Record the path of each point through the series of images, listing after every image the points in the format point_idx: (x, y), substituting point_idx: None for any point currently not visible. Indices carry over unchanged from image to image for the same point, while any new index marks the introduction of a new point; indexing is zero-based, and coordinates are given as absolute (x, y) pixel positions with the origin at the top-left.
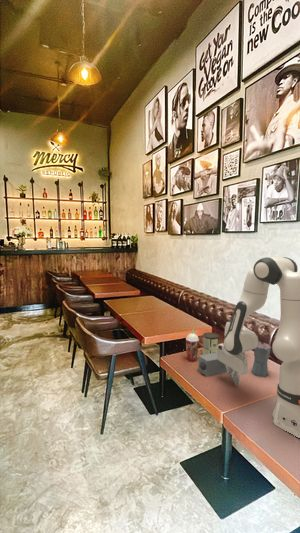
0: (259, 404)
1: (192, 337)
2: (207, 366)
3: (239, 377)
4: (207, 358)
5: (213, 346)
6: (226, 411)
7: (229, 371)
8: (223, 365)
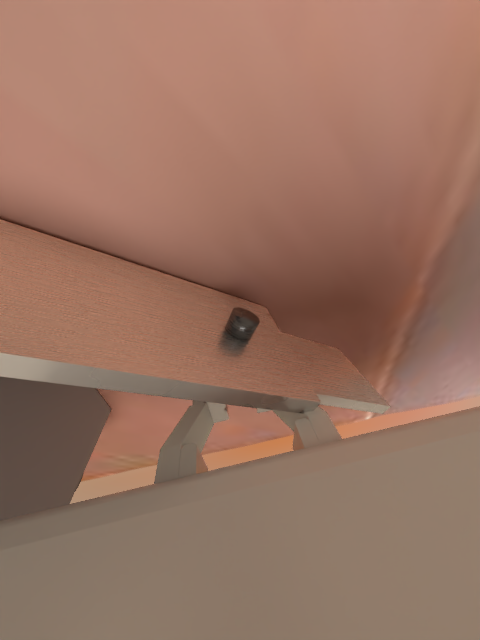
0: (448, 287)
1: None
2: (73, 483)
3: (381, 401)
4: None
5: None
6: None
7: (228, 415)
8: None
